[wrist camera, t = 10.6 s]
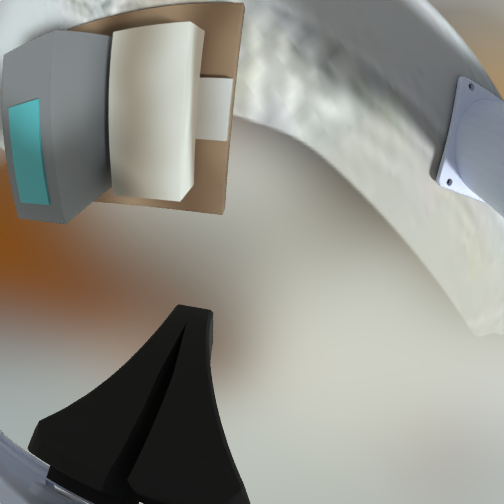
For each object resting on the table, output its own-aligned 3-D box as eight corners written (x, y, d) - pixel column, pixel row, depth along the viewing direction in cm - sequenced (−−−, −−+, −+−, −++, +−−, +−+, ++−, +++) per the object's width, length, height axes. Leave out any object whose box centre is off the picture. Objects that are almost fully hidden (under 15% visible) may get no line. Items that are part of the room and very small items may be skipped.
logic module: (124, 38, 11) (53, 29, 6) (122, 179, 16) (64, 225, 11) (73, 50, 11) (2, 55, 6) (76, 177, 16) (17, 218, 11)
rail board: (244, 7, 11) (234, -16, 7) (224, 208, 18) (211, 239, 15) (31, 48, 11) (-5, 52, 8) (38, 192, 18) (8, 213, 15)
